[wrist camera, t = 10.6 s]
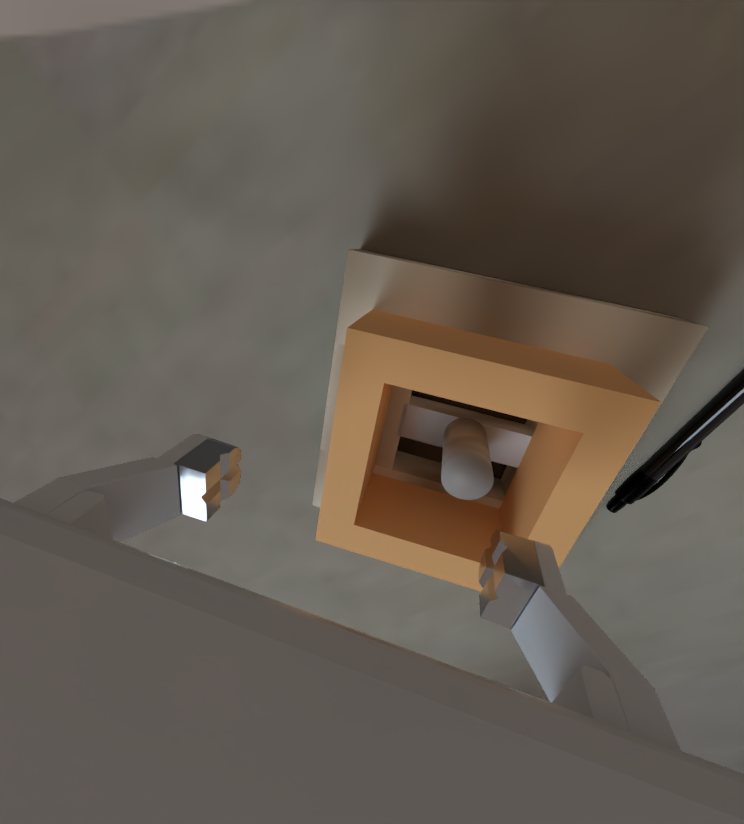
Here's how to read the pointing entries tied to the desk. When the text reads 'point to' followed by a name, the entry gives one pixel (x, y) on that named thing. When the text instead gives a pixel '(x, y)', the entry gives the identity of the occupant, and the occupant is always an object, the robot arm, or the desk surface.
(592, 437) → the orange square frame
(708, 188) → the desk surface
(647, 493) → the pen
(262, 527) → the desk surface
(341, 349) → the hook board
